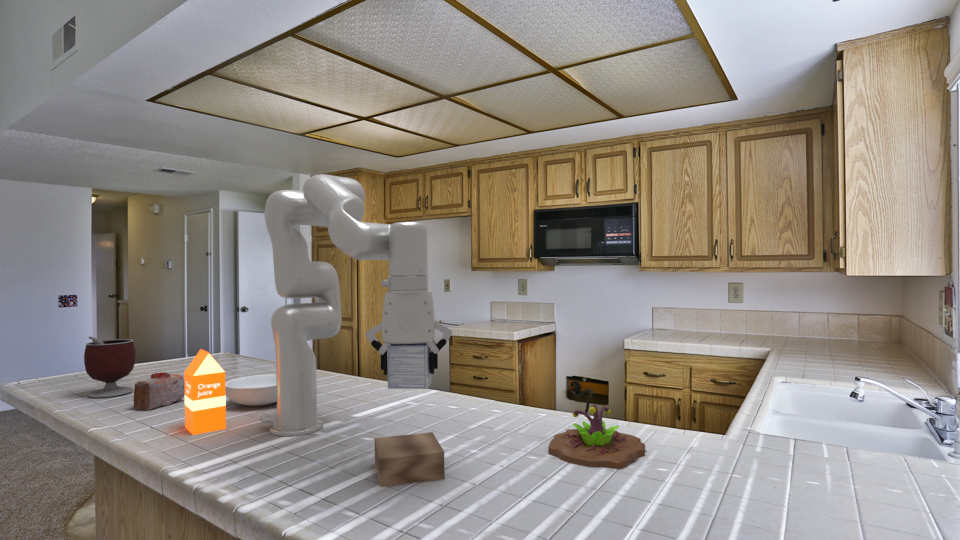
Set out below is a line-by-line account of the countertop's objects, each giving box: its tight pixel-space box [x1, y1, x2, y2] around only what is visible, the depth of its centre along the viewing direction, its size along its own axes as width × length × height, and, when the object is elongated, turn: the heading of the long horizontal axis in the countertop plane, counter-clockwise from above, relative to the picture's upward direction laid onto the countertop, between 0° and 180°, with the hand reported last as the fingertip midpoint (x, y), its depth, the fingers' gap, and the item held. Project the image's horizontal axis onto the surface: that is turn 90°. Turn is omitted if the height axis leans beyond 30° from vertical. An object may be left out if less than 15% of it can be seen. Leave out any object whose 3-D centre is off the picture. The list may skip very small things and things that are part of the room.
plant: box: [547, 404, 646, 470], centre depth 109 cm, size 20×20×11 cm
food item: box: [132, 371, 185, 411], centre depth 154 cm, size 14×8×10 cm, turn 167°
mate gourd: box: [83, 336, 136, 398], centre depth 169 cm, size 16×14×20 cm
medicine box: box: [387, 343, 432, 390], centre depth 100 cm, size 8×4×9 cm, turn 84°
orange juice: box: [183, 348, 227, 436], centre depth 130 cm, size 8×9×20 cm
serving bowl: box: [225, 373, 277, 407], centre depth 155 cm, size 21×21×7 cm
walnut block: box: [374, 431, 446, 488], centre depth 99 cm, size 12×12×6 cm
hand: (409, 372), depth 100 cm, fingers closed on medicine box, 8 cm apart
